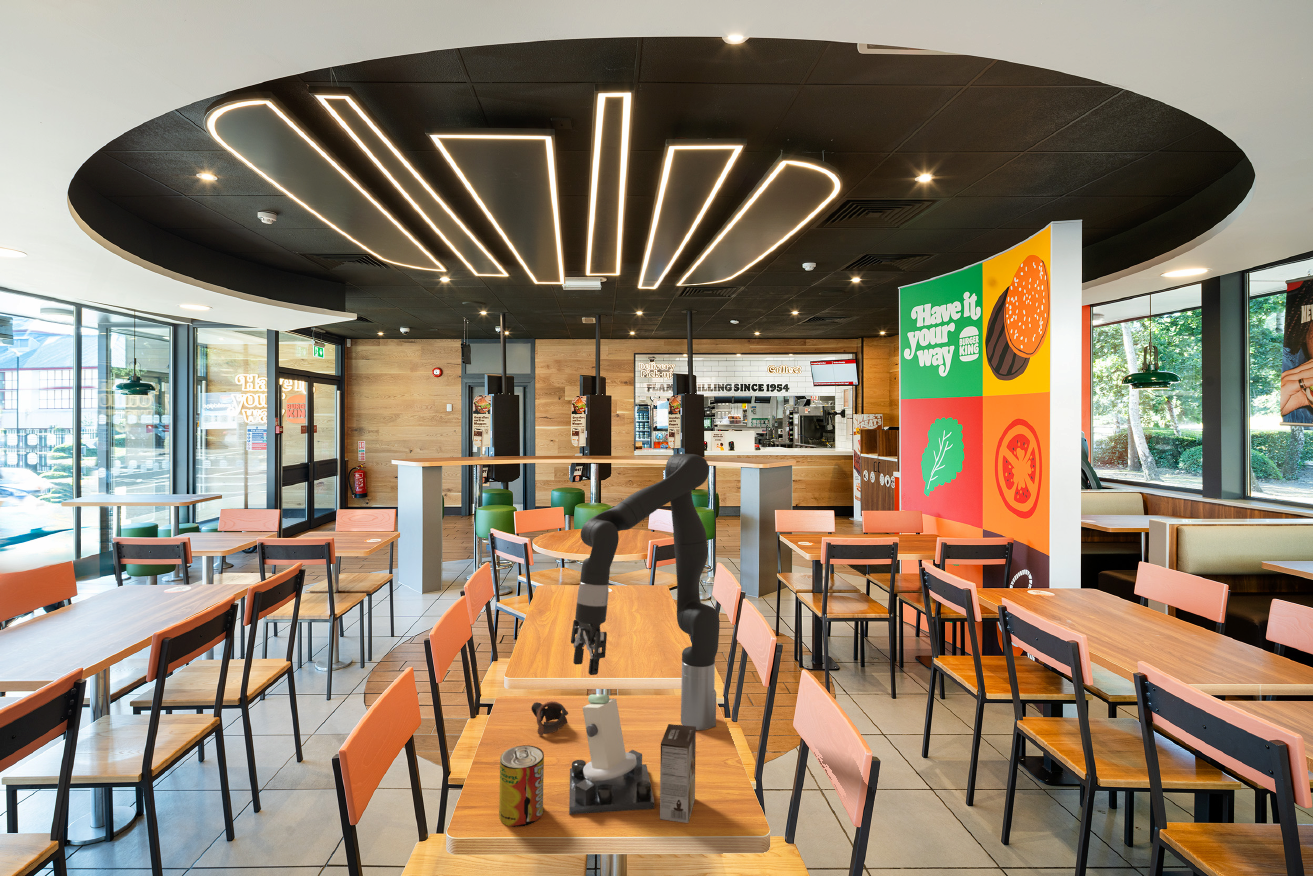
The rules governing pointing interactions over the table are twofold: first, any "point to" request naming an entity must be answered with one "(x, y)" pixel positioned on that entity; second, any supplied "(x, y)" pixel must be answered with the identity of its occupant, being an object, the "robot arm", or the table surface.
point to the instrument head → (605, 740)
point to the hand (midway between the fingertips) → (585, 669)
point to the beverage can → (521, 786)
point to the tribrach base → (618, 792)
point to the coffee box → (677, 773)
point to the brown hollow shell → (549, 716)
